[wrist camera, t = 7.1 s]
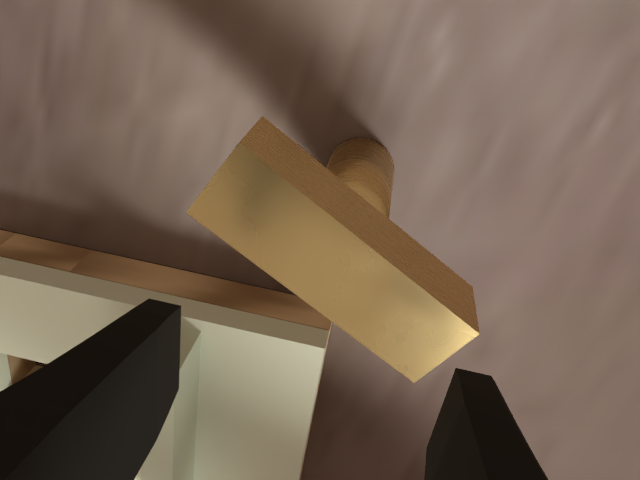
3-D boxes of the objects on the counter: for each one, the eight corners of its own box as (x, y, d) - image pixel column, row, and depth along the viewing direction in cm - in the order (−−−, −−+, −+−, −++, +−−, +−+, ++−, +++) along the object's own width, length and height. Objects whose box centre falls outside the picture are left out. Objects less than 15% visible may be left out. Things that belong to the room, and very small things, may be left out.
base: (335, 304, 21) (329, 329, 20) (299, 485, 27) (292, 515, 25) (-5, 228, 22) (-33, 248, 21) (27, 418, 28) (6, 443, 26)
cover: (329, 330, 20) (312, 399, 17) (292, 516, 25) (274, 592, 22) (-34, 248, 21) (-110, 300, 18) (6, 444, 26) (-47, 508, 23)
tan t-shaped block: (298, 74, 17) (238, 142, 12) (460, 212, 19) (479, 333, 13) (258, 126, 18) (186, 213, 13) (415, 252, 20) (414, 382, 14)
